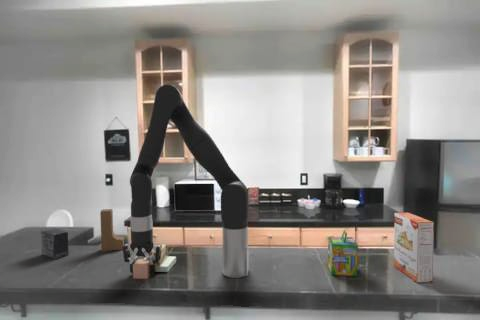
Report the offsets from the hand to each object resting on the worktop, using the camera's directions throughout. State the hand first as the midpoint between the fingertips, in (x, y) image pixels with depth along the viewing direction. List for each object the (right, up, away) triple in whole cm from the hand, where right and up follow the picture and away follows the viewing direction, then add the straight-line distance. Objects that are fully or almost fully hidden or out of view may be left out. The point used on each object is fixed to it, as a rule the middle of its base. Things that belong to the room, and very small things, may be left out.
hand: (142, 273), depth 108 cm
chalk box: (+73, 0, +3) cm, 73 cm away
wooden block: (-22, 0, +27) cm, 35 cm away
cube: (0, -1, 0) cm, 1 cm away
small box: (-44, 0, +21) cm, 49 cm away
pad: (+3, 0, +8) cm, 9 cm away
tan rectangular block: (+3, +2, +8) cm, 8 cm away
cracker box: (+96, 0, -1) cm, 96 cm away
